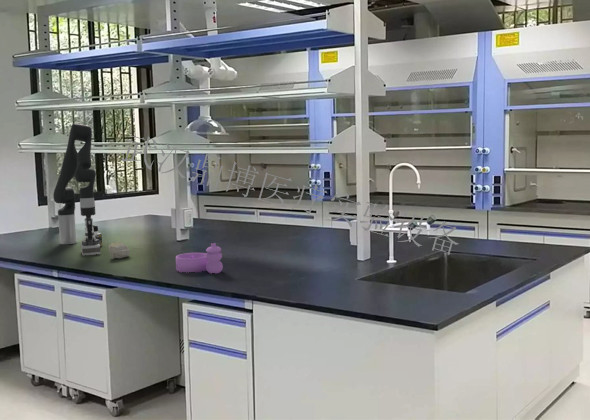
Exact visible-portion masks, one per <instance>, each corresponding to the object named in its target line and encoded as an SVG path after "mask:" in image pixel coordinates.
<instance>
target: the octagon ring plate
mask: <svg viewBox="0 0 590 420" xmlns="http://www.w3.org/2000/svg"><path fill="white" fill-rule="evenodd" d="M80 249H81V254H82V256H84V257H85V255H86V256H95V255H96V254H97V255H101V246H100V244H99V240H98V239H94V241H86V240H84V239H82V240H81V242H80Z"/></svg>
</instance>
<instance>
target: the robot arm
mask: <svg viewBox="0 0 590 420" xmlns="http://www.w3.org/2000/svg"><path fill="white" fill-rule="evenodd" d="M92 135H93V131H92V127H91V126H90V125H87V124H81V123H72V125H71V127H70V131H69V135H68V140H67V146H66V149H65V150H66V151H65V154H64V158H63V161H62V163H61V165H62V166H61V169H60V174H59V176H58V180H57V182H56V184H55V187H54V190H53V195H52V196H53V197H52V198H53V201H54V202H55V203H56V204H64V206H62V207H61V208H59V209H58V210H57V217H58V218H57V219H58V220H57V222H58V230H59V231H58V232H59V244H60V245H72V244H73V245H74V244H77V243H78V242H77V228H76V216H75V210H76V194H75V193H76V192H75V190H74V188H73V187H71V186H68V184H69V183H70V182H71V181H72V180H73V179H75V181H76V182H77V183H88V185H84V186H81V187H80V188H79V207H80V208H79V209H80V216H82V217H85V218H84V226H85V227H86V228H87V232H88V239H92V227H93V225H94V224H93V222H94V220H93V218H92V216H94V215H95V216H96V201H95V191H94V188H95V187H94V186H95V181H96V177H97V173H96V171H95V170H94V169H93V168H91V167H92V158H91V156H92V155H91V151H92V150H91V149H92V141H93V140H92V137H93V136H92ZM76 141H78V142H84V144H83V146H82V147H81V148H80V149H79V150H77V148H76V144H75V143H76ZM89 227H91V229H88V228H89Z"/></svg>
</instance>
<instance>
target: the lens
mask: <svg viewBox="0 0 590 420" xmlns="http://www.w3.org/2000/svg"><path fill="white" fill-rule="evenodd" d="M88 229H91V227H89V228H88ZM84 235H85V237H86V241H94V228H93V227H92V239H88V232H87V228H86V226H85V227H84Z"/></svg>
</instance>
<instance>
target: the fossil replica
mask: <svg viewBox="0 0 590 420" xmlns="http://www.w3.org/2000/svg"><path fill="white" fill-rule="evenodd" d="M107 249H108V250H109V254H110V257H111V258H112V259H116V260H117V259H123V258H127V257H129V255H130V249H129V247H128V246H127V245H126V244H124V243H123V242H120V241H116V242H112V243H109V244H108V248H107Z"/></svg>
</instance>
